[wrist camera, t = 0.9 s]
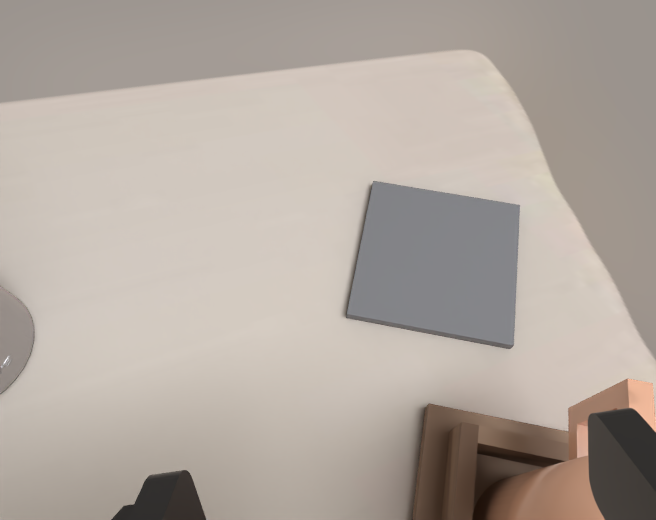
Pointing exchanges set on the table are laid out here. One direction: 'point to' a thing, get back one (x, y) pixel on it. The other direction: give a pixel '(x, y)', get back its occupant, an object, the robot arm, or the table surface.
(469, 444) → the jug stand
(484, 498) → the peach cup
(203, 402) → the table surface
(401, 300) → the mat
